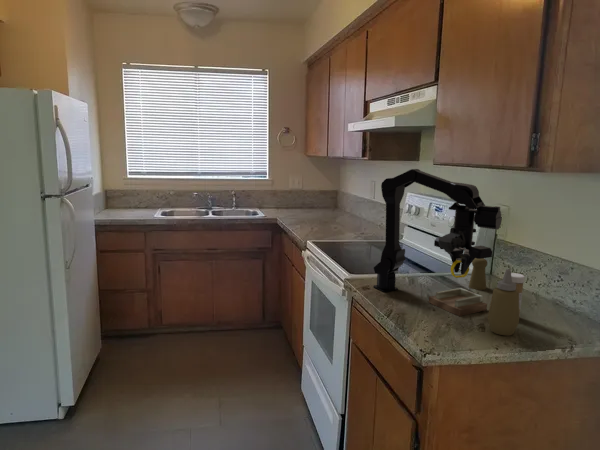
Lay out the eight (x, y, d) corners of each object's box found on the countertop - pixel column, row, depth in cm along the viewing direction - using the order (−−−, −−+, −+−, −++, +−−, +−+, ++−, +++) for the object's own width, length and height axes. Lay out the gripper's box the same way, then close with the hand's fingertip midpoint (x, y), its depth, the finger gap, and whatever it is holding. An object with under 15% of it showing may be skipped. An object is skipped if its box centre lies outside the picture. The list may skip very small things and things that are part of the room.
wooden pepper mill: (486, 290, 160) (489, 261, 158) (468, 288, 162) (471, 259, 160) (485, 285, 166) (488, 257, 164) (468, 283, 168) (470, 255, 166)
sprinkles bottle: (500, 314, 138) (504, 272, 136) (514, 314, 138) (519, 272, 136) (508, 320, 134) (513, 277, 131) (523, 320, 134) (528, 276, 132)
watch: (454, 279, 141) (454, 261, 139) (448, 277, 143) (449, 259, 142) (470, 277, 142) (470, 259, 141) (465, 274, 145) (465, 257, 144)
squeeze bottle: (523, 337, 122) (531, 274, 118) (495, 338, 121) (501, 274, 118) (507, 325, 130) (514, 265, 126) (480, 326, 129) (486, 265, 126)
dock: (428, 302, 147) (429, 290, 147) (455, 297, 153) (456, 286, 152) (459, 316, 136) (460, 303, 135) (486, 310, 142) (487, 297, 141)
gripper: (423, 221, 144) (419, 268, 147) (469, 232, 128) (464, 285, 131) (448, 219, 149) (444, 264, 152) (495, 229, 133) (490, 280, 136)
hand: (459, 273), depth 142 cm, fingers closed on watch, 2 cm apart
